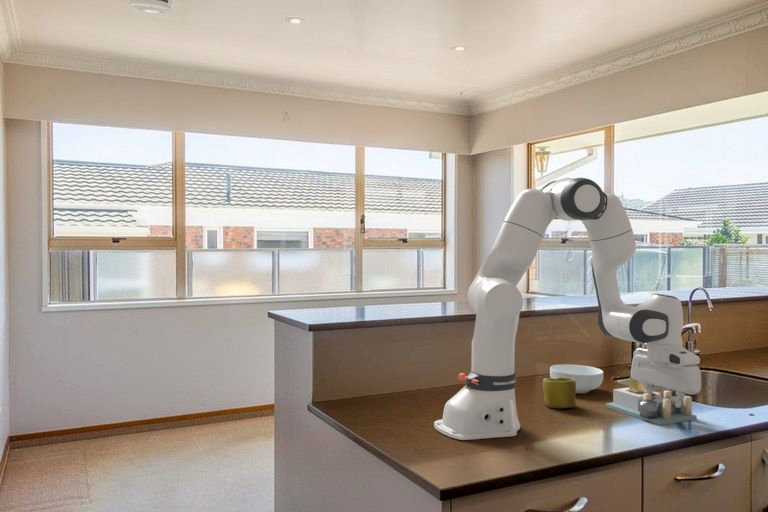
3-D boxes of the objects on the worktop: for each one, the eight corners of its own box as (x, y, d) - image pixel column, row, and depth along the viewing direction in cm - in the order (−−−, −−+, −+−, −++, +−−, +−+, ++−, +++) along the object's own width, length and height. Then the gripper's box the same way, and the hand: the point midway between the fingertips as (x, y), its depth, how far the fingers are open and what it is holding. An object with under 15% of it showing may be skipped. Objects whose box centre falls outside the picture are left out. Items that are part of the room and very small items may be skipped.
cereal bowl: (608, 398, 181) (608, 375, 181) (552, 395, 184) (552, 373, 184) (598, 385, 198) (598, 364, 198) (547, 383, 201) (547, 362, 201)
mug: (584, 406, 165) (573, 371, 168) (548, 415, 167) (537, 380, 170) (581, 403, 177) (571, 370, 179) (548, 411, 179) (538, 379, 181)
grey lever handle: (649, 419, 156) (650, 404, 156) (635, 415, 160) (636, 400, 160) (687, 413, 162) (687, 399, 162) (672, 409, 166) (673, 395, 166)
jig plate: (660, 425, 154) (660, 402, 154) (605, 406, 172) (605, 386, 171) (696, 418, 160) (696, 397, 160) (640, 401, 177) (640, 382, 177)
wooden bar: (637, 407, 168) (637, 379, 168) (628, 404, 171) (629, 377, 170) (644, 405, 169) (645, 378, 169) (636, 403, 172) (636, 376, 172)
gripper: (626, 347, 169) (625, 395, 169) (688, 360, 150) (687, 414, 151) (642, 346, 172) (641, 392, 172) (705, 358, 153) (704, 411, 153)
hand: (663, 403), depth 161 cm, fingers open, 7 cm apart
